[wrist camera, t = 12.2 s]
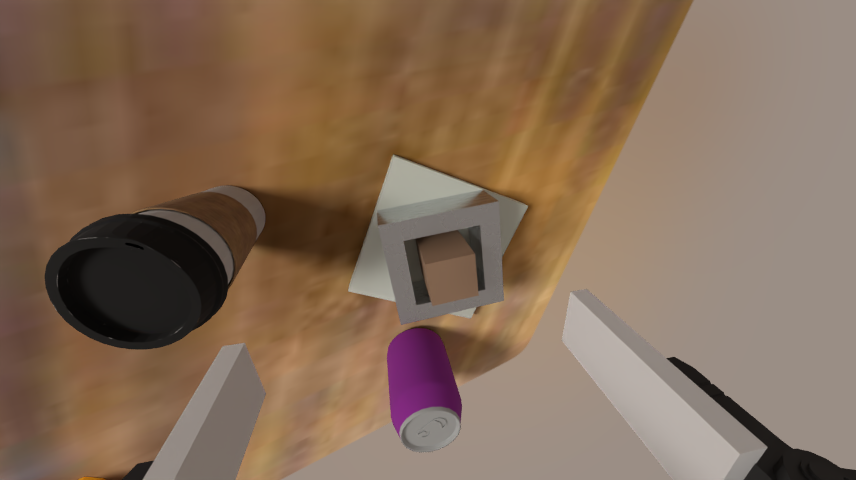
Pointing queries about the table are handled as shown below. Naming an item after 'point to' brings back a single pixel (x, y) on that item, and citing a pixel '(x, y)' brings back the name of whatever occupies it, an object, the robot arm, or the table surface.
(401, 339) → the beverage can
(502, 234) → the post board
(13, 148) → the table surface
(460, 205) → the square frame
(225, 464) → the robot arm
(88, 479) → the potion bottle
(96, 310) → the coffee cup
